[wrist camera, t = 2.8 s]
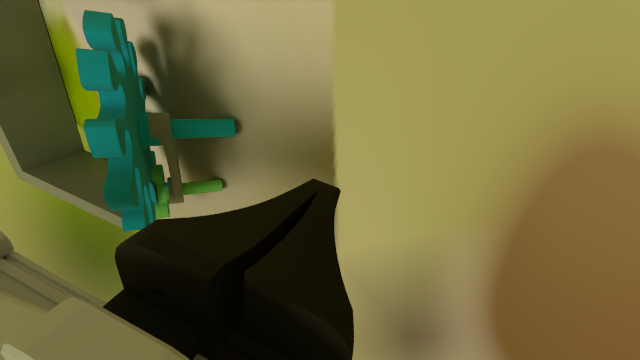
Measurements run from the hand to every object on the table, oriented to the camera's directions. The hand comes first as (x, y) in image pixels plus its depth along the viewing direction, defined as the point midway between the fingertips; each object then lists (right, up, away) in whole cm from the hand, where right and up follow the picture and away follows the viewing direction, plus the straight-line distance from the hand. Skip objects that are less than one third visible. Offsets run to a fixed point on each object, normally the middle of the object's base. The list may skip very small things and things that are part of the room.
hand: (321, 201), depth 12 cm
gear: (-8, +5, +5) cm, 10 cm away
